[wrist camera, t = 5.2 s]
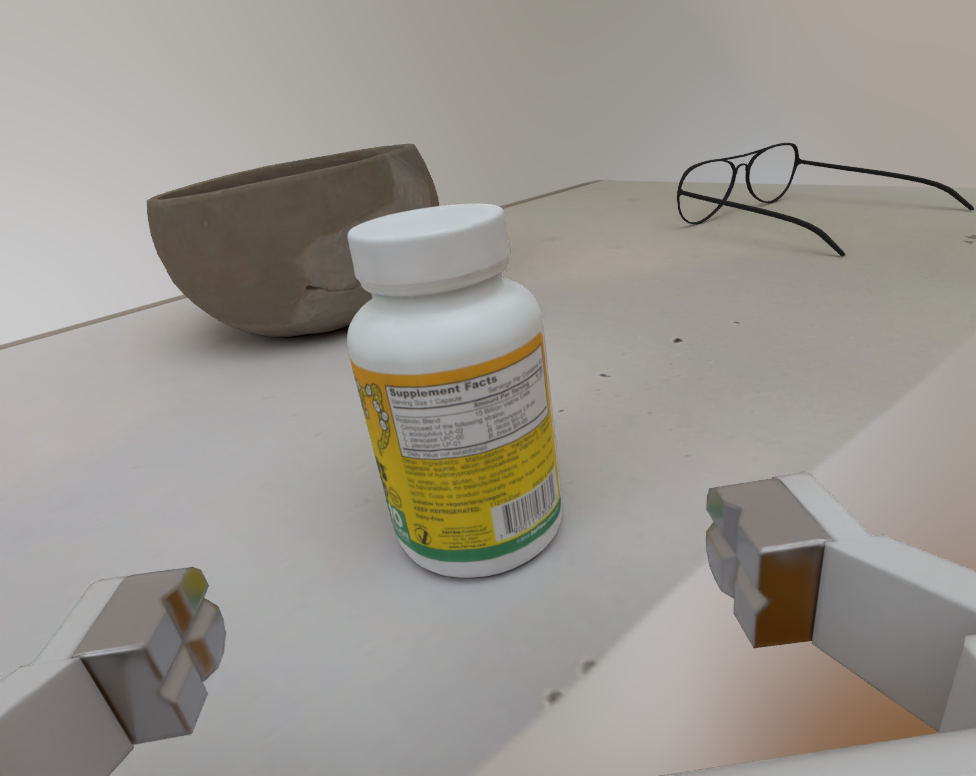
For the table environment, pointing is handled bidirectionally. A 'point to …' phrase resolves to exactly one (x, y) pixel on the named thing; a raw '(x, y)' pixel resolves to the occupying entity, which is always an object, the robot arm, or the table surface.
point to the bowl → (284, 236)
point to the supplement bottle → (455, 390)
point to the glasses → (796, 163)
